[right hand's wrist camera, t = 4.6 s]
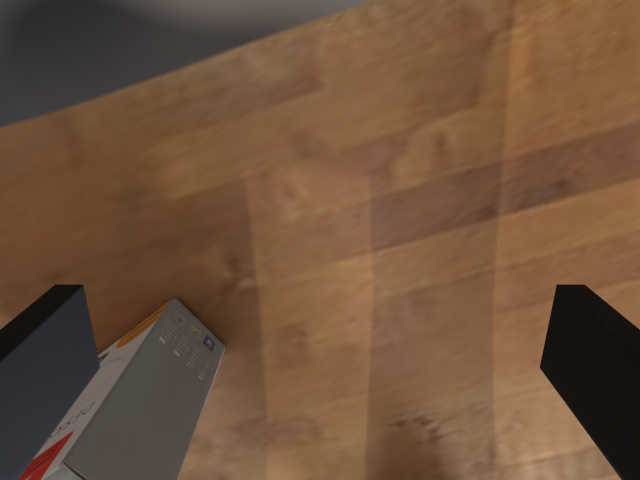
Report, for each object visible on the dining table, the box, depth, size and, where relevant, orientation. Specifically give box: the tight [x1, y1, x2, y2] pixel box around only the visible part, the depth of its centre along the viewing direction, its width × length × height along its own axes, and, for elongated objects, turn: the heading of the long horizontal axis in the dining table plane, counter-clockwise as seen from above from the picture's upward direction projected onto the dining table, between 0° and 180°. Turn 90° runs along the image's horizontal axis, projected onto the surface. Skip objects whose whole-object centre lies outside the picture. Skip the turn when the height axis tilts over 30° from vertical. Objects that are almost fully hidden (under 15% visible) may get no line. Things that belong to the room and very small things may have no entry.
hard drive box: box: [18, 298, 225, 480], centre depth 37 cm, size 16×8×20 cm, turn 128°
